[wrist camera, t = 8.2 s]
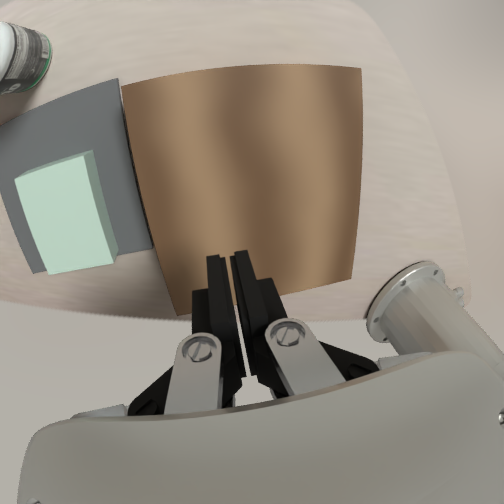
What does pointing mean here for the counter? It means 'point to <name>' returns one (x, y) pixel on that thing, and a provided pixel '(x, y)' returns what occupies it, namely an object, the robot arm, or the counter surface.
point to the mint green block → (68, 214)
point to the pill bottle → (22, 57)
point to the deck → (250, 171)
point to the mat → (68, 144)
